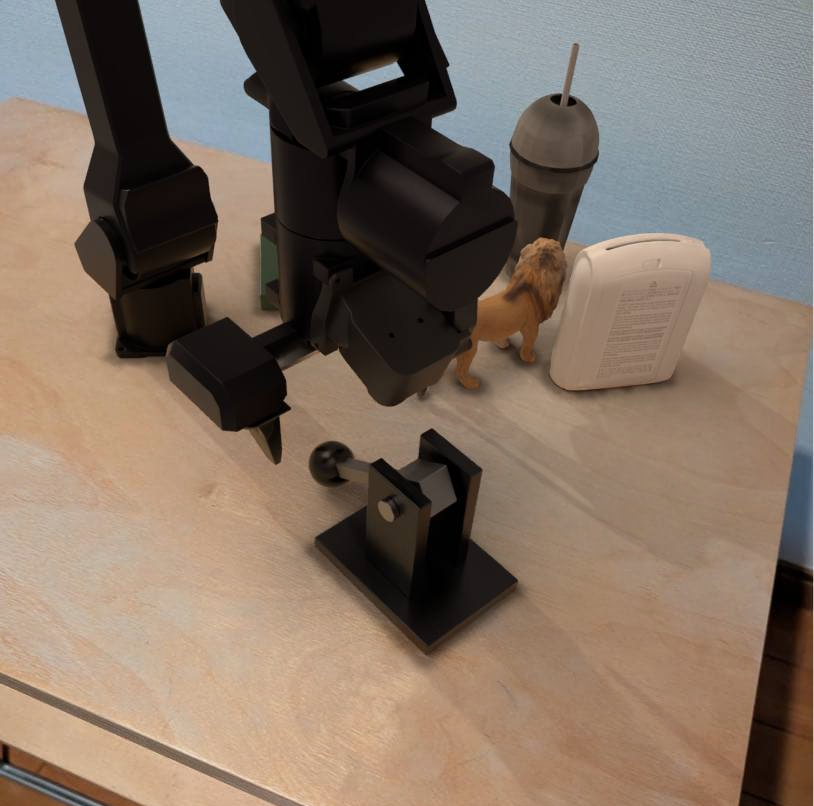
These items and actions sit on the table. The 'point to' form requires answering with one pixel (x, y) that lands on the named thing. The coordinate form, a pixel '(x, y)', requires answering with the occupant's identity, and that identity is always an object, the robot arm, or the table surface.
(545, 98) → the beverage cup
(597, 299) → the photo printer
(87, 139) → the table surface
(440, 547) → the bracket
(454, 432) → the table surface
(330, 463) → the lever
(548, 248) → the lion figurine
